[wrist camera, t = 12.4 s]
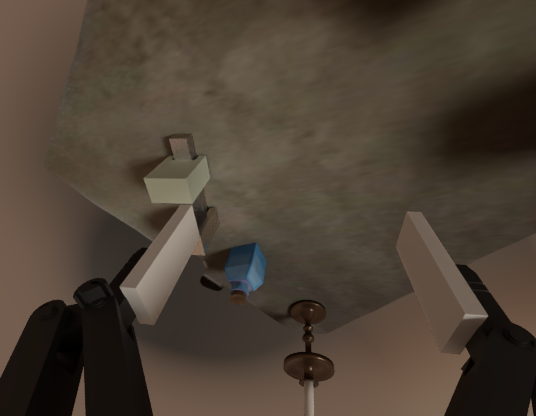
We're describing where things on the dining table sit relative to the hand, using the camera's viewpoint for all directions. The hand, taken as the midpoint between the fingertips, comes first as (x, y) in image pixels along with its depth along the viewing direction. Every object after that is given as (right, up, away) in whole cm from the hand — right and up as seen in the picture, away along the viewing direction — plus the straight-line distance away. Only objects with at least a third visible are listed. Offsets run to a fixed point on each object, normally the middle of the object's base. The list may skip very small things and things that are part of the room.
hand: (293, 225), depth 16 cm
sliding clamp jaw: (-16, +9, +30) cm, 35 cm away
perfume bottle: (-6, -10, +42) cm, 44 cm away
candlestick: (+9, -26, +51) cm, 58 cm away
